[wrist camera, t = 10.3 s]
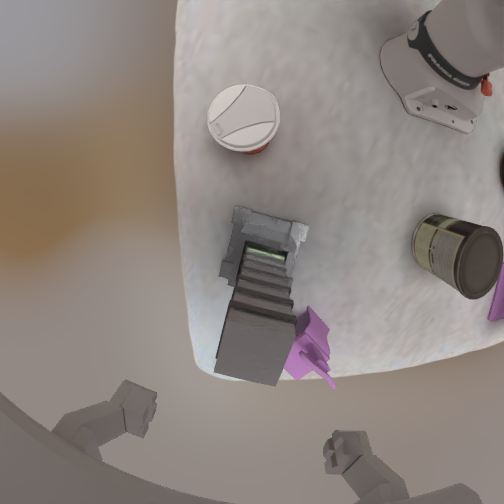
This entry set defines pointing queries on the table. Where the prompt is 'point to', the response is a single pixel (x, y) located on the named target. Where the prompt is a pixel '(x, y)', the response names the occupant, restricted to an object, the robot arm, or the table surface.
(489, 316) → the purple pedestal armchair
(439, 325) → the table surface
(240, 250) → the stand
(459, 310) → the table surface
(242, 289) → the column
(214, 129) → the paper cup
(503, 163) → the apothecary jar
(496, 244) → the coffee can
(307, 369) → the toy chair
